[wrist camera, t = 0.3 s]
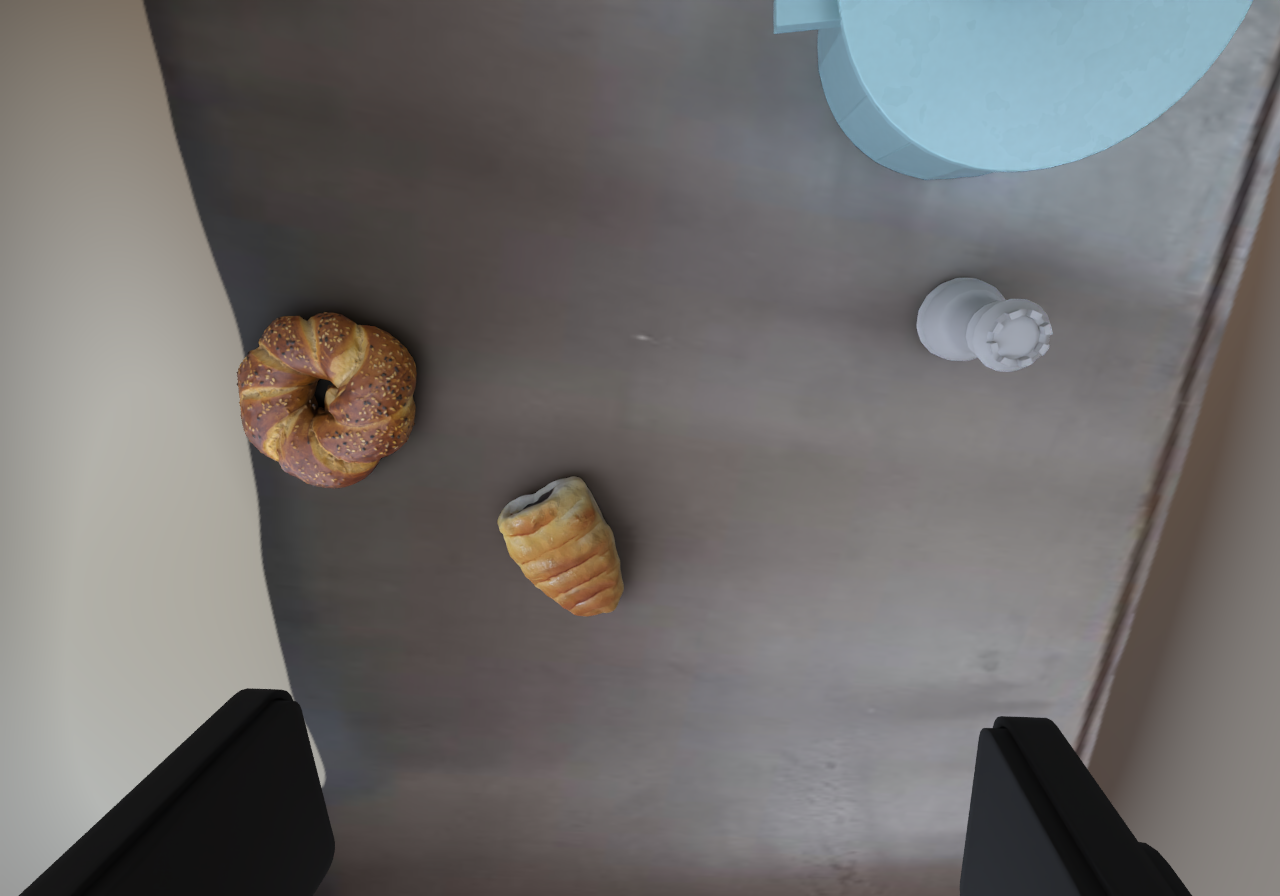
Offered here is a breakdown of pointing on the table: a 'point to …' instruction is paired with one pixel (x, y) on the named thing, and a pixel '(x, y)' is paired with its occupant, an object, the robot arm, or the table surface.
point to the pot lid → (1030, 71)
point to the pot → (857, 95)
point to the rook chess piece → (982, 325)
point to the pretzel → (327, 397)
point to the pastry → (565, 546)
